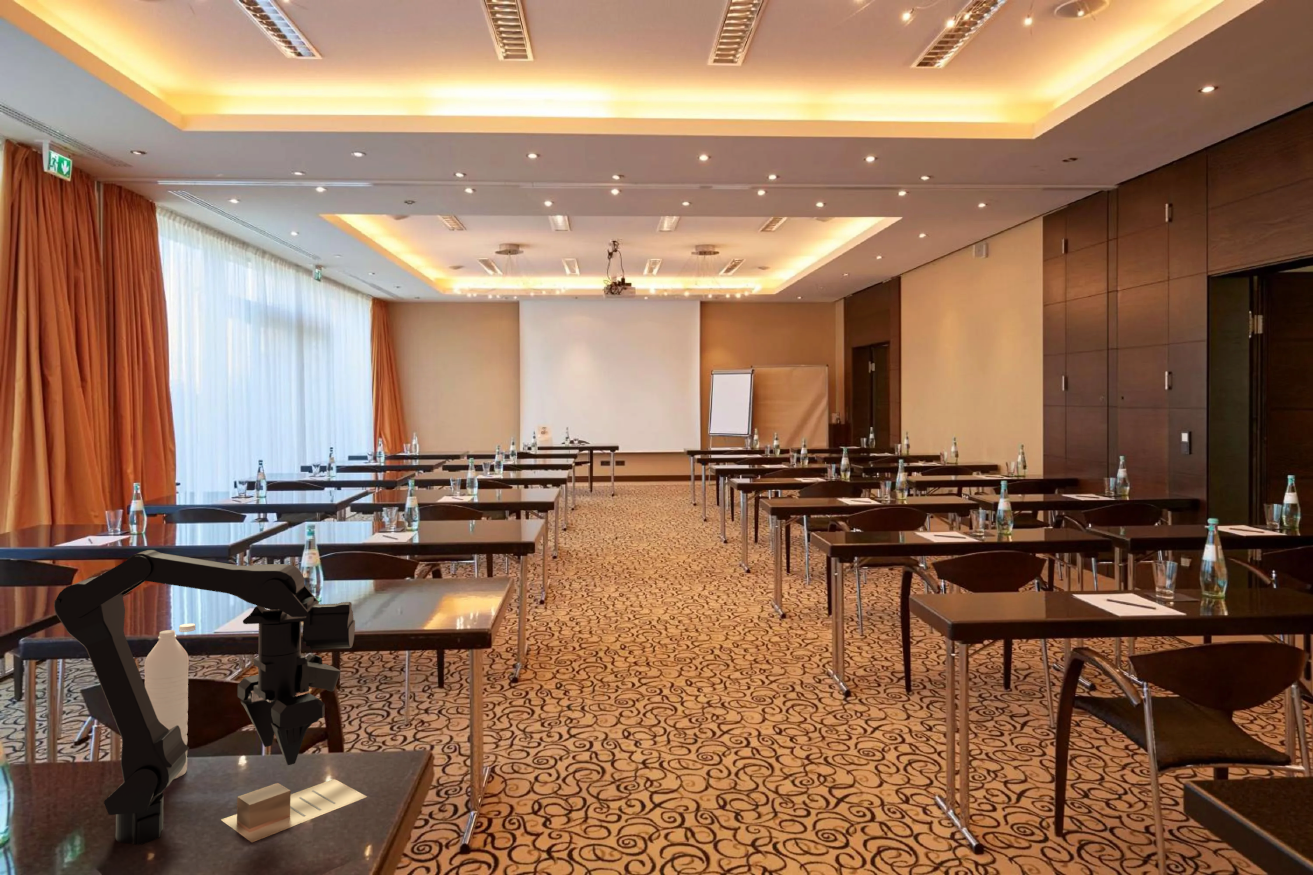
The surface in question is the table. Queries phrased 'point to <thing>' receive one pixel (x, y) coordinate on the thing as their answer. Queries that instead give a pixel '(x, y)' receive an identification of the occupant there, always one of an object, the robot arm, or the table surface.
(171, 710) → the water bottle
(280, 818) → the block
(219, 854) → the table surface
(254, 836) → the birch board
